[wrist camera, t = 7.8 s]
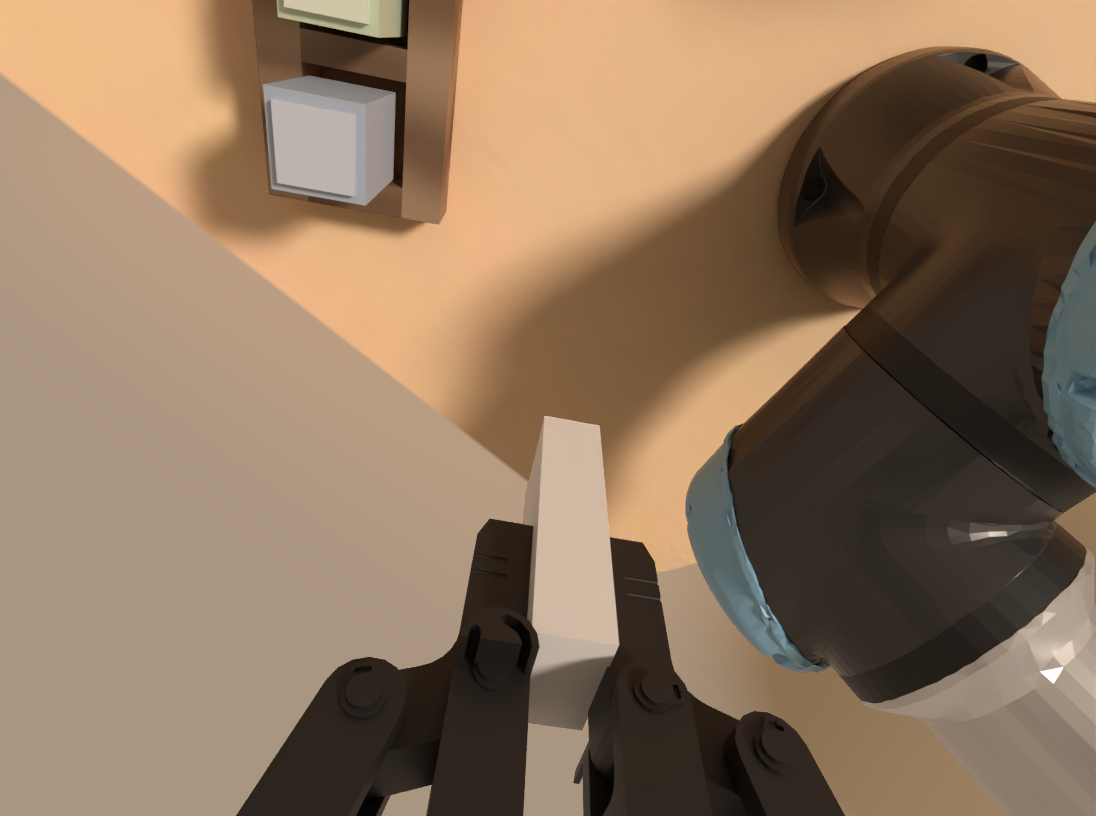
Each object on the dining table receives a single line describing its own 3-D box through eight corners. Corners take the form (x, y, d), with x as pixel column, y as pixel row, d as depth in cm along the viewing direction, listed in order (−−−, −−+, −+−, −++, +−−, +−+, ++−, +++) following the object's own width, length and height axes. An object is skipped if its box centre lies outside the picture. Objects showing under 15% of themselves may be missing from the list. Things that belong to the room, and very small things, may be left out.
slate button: (309, 75, 30) (259, 85, 25) (395, 92, 31) (363, 105, 25) (313, 164, 33) (268, 190, 27) (393, 179, 33) (363, 207, 28)
